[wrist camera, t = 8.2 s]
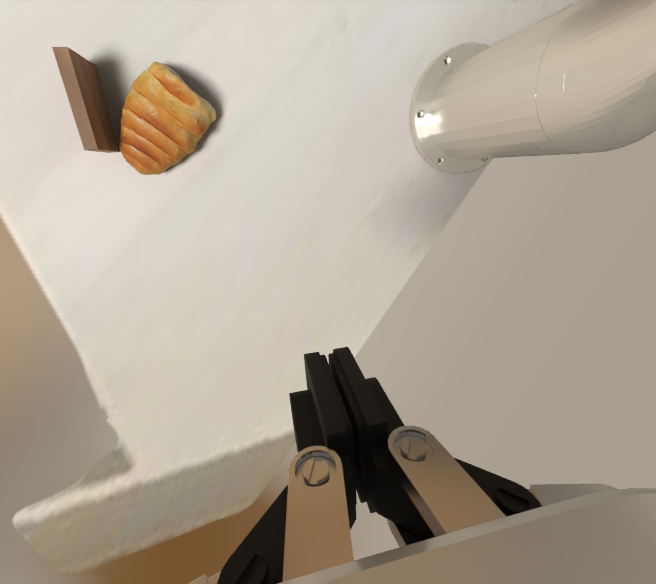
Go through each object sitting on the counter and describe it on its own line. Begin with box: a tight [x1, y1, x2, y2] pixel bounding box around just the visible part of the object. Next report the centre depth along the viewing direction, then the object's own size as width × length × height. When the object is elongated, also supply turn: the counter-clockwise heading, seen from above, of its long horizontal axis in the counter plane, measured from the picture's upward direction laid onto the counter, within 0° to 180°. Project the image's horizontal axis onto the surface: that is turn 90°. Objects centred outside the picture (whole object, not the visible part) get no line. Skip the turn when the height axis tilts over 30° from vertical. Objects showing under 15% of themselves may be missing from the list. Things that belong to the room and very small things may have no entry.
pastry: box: [118, 62, 216, 175], centre depth 29 cm, size 9×7×4 cm
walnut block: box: [52, 47, 119, 153], centre depth 27 cm, size 1×7×4 cm, turn 4°
